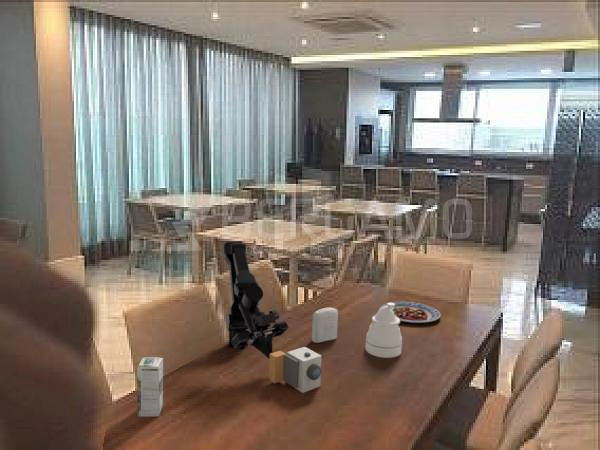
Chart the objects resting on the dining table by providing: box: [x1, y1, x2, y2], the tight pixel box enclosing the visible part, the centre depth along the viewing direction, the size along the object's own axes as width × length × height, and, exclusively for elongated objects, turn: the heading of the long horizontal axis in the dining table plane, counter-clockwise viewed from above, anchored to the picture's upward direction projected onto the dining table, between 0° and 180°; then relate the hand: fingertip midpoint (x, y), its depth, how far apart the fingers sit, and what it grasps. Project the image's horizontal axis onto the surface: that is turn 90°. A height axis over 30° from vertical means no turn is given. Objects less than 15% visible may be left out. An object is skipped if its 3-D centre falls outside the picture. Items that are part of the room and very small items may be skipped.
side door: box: [268, 350, 298, 389], centre depth 152 cm, size 9×4×8 cm, turn 39°
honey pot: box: [365, 302, 403, 359], centre depth 180 cm, size 13×13×18 cm
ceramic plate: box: [379, 301, 441, 324], centre depth 219 cm, size 26×26×3 cm
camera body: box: [286, 346, 322, 394], centre depth 153 cm, size 10×7×11 cm
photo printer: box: [311, 307, 339, 344], centre depth 188 cm, size 10×4×12 cm, turn 123°
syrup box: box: [136, 356, 164, 418], centre depth 135 cm, size 6×6×14 cm
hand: (271, 358), depth 156 cm, fingers closed
